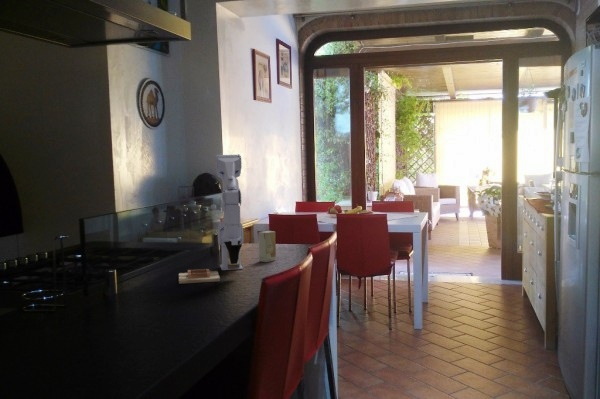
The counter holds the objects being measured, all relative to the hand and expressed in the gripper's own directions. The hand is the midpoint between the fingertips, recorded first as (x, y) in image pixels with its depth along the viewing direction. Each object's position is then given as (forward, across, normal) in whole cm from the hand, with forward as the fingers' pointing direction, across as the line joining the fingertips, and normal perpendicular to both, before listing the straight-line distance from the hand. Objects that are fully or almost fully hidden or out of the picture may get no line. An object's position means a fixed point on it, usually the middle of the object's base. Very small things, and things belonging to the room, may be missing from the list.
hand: (233, 262), depth 206 cm
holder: (+6, -5, -12) cm, 14 cm away
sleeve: (+2, 0, 0) cm, 2 cm away
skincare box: (+6, -33, +17) cm, 38 cm away
